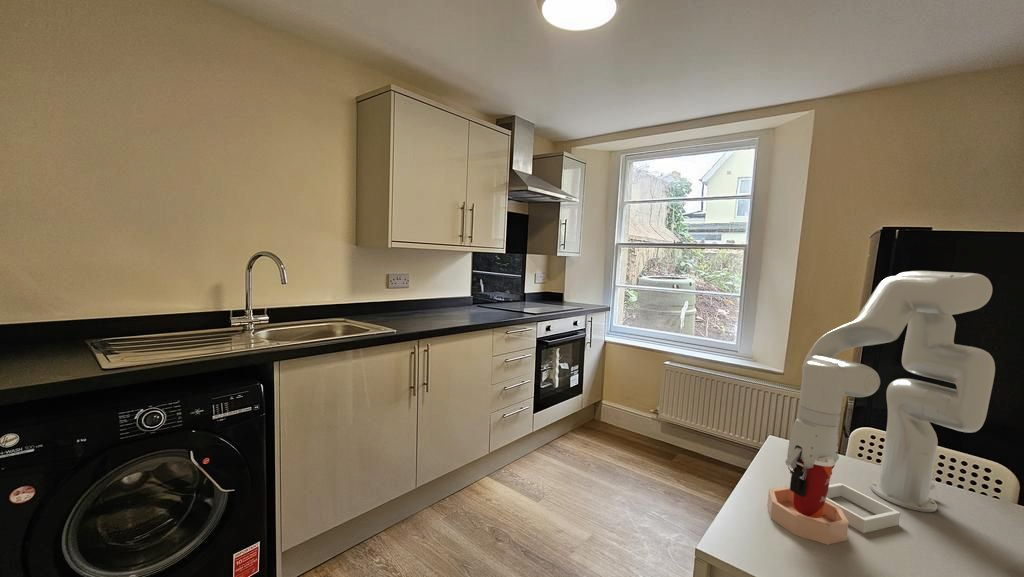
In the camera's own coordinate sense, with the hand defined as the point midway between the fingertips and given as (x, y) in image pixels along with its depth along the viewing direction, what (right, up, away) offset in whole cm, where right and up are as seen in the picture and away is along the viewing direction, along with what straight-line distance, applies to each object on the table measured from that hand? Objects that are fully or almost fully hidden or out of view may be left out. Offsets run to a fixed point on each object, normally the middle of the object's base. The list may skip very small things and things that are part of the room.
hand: (808, 490), depth 92 cm
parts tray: (+14, -8, +6) cm, 17 cm away
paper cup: (0, -5, 0) cm, 5 cm away
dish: (-1, -7, +1) cm, 7 cm away
